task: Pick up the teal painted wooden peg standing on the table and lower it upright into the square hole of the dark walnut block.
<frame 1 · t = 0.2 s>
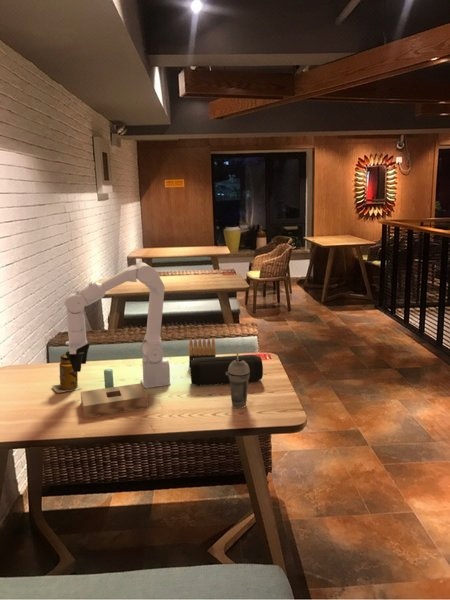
hand: (80, 367, 170), 10 cm above the table, tool pointing down, fingers open, 7 cm apart
ammunition clip: (202, 367, 197), on the table
peg: (109, 391, 173), on the table
condiment: (66, 388, 177), on the table
portable speaker: (226, 383, 181), on the table
beverage cup: (239, 406, 161), on the table
hole block: (114, 405, 162), on the table
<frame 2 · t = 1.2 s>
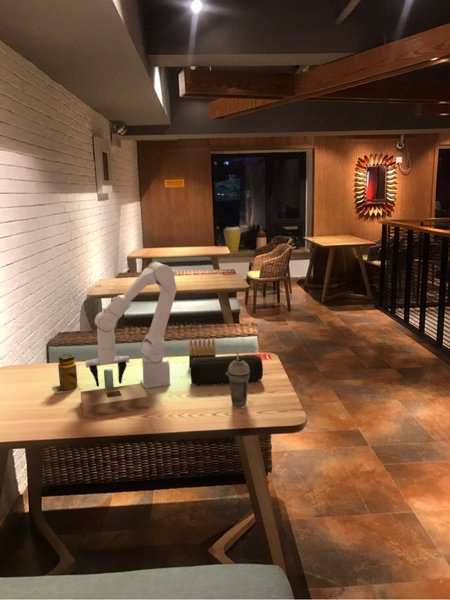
hand: (108, 384, 173), 3 cm above the table, tool pointing down, fingers open, 7 cm apart
nothing on the table moved.
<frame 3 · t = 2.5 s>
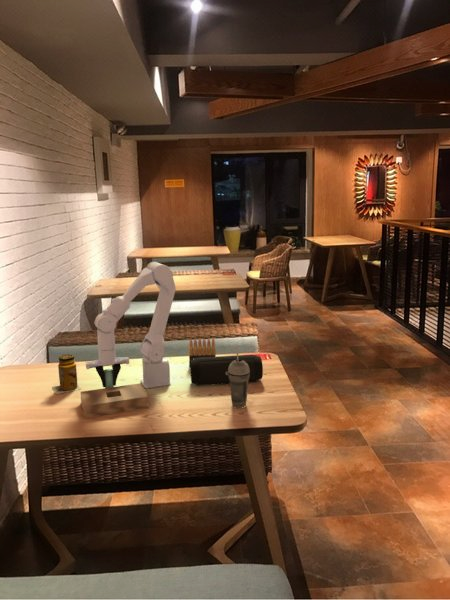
hand: (109, 385, 173), 2 cm above the table, tool pointing down, fingers closed on peg, 3 cm apart
peg: (109, 391, 173), on the table, touching gripper
everything else where it was.
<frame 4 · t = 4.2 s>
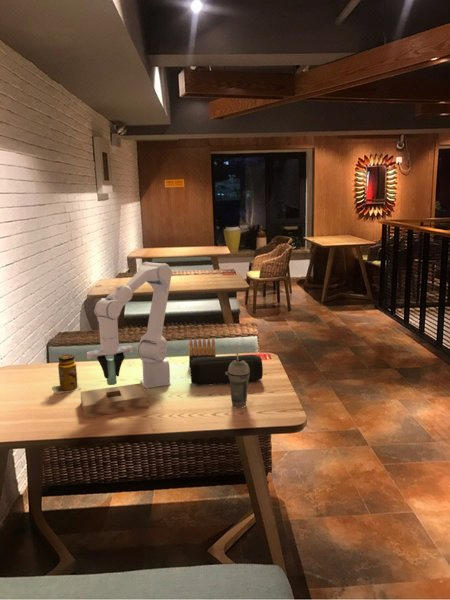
hand: (111, 376, 162), 9 cm above the table, tool pointing down, fingers closed on peg, 3 cm apart
peg: (111, 383, 163), point 7 cm above the table, touching gripper
everything else where it was.
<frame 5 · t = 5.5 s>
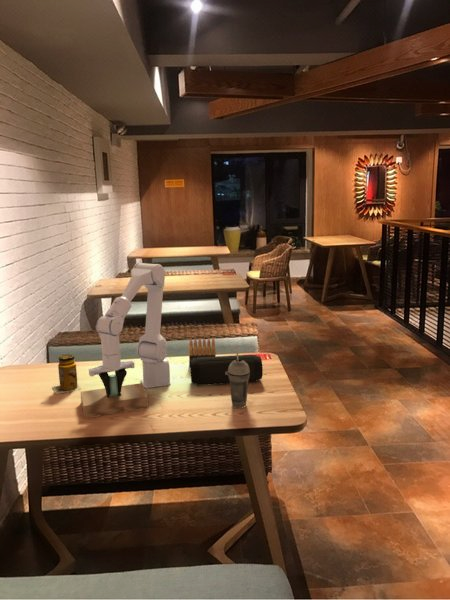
hand: (113, 392, 161), 5 cm above the table, tool pointing down, fingers closed on peg, 3 cm apart
peg: (113, 399, 162), point 2 cm above the table, touching gripper
everything else where it was.
when the fingers open (4 cm above the table, at t = 6.3 s): peg drops 2 cm, resting in hole block.
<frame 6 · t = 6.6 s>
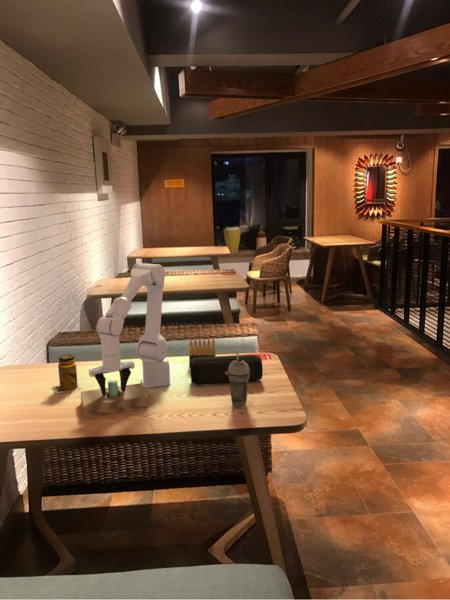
hand: (113, 392, 161), 4 cm above the table, tool pointing down, fingers open, 6 cm apart
peg: (114, 405, 162), resting in hole block
everything else where it was.
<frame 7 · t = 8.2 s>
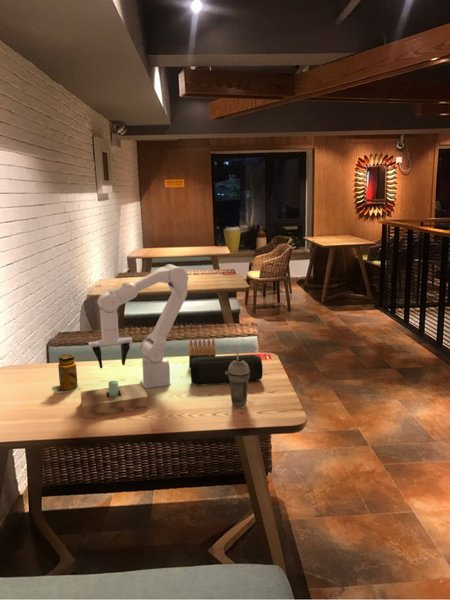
hand: (112, 365, 172), 9 cm above the table, tool pointing down, fingers open, 7 cm apart
nothing on the table moved.
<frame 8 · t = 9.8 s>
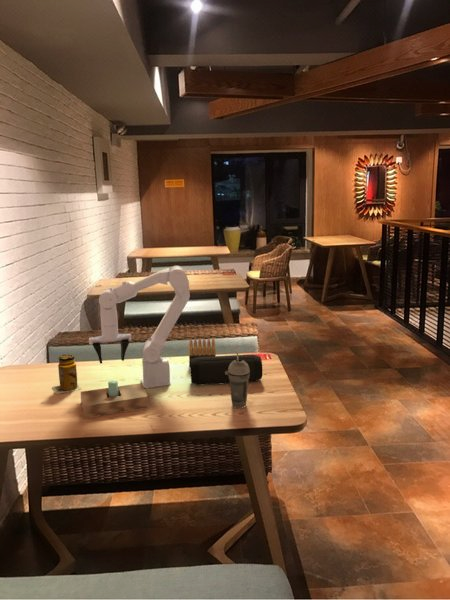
hand: (111, 361, 177), 9 cm above the table, tool pointing down, fingers open, 7 cm apart
nothing on the table moved.
at the end: peg 0.1 cm off-centre on the hole block, point 0.0 cm above the hole block's base; peg tilted 1°; the gripper is holding nothing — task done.
